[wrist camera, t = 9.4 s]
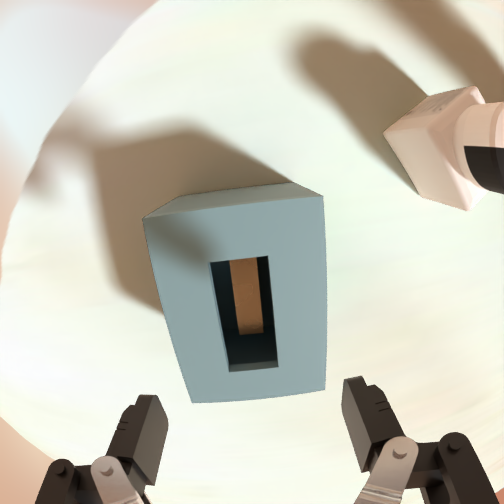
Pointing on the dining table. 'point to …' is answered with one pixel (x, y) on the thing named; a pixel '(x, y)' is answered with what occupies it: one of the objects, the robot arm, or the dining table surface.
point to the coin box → (222, 296)
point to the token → (247, 295)
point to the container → (452, 147)
